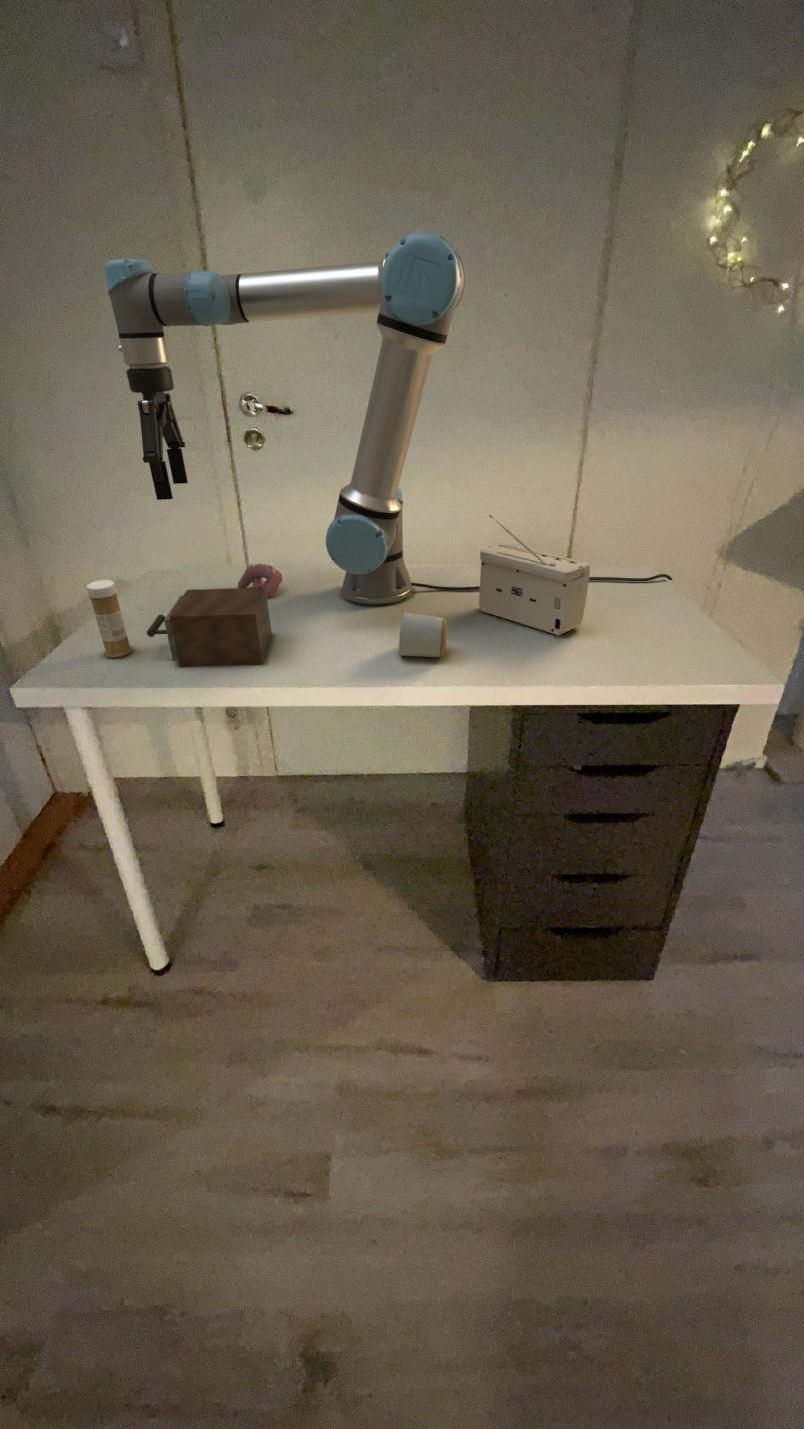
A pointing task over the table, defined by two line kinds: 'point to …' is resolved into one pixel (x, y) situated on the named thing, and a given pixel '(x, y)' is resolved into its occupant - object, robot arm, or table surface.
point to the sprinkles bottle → (109, 618)
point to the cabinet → (221, 627)
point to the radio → (533, 587)
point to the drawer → (168, 631)
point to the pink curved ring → (255, 576)
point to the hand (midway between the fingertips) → (173, 491)
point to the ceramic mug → (422, 635)
